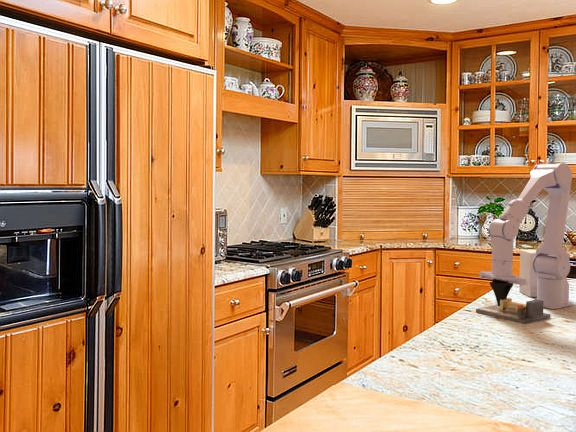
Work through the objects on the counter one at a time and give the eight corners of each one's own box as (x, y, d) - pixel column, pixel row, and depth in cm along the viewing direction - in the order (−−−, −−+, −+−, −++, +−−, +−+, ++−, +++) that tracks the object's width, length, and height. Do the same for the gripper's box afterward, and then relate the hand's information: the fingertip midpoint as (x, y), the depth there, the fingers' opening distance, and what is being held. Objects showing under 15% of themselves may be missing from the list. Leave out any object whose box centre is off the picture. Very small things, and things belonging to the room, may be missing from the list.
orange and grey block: (520, 314, 154) (520, 304, 154) (524, 315, 153) (524, 304, 153) (515, 315, 153) (515, 305, 153) (519, 316, 152) (519, 305, 152)
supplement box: (556, 297, 183) (557, 252, 182) (529, 297, 183) (530, 252, 182) (544, 291, 192) (545, 249, 191) (518, 291, 192) (519, 249, 191)
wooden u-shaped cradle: (508, 307, 163) (508, 297, 163) (533, 313, 156) (533, 302, 156) (496, 310, 160) (496, 300, 160) (520, 316, 153) (521, 305, 153)
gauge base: (501, 307, 170) (502, 289, 169) (550, 318, 156) (550, 299, 156) (476, 312, 163) (476, 294, 163) (524, 324, 150) (525, 304, 149)
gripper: (472, 258, 166) (472, 302, 167) (515, 264, 154) (514, 312, 155) (488, 256, 170) (487, 299, 171) (530, 262, 157) (529, 309, 158)
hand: (501, 305), depth 163 cm, fingers closed
